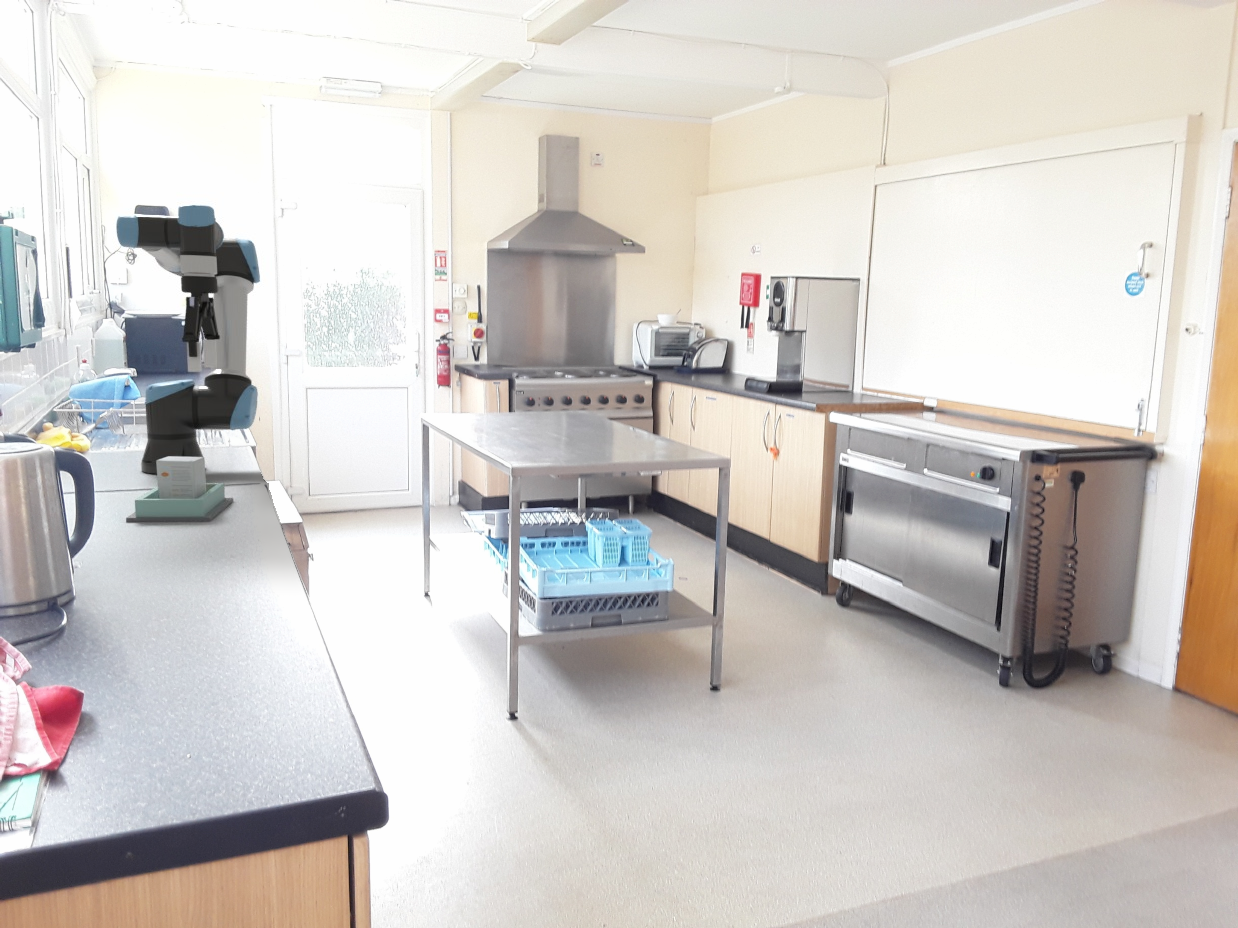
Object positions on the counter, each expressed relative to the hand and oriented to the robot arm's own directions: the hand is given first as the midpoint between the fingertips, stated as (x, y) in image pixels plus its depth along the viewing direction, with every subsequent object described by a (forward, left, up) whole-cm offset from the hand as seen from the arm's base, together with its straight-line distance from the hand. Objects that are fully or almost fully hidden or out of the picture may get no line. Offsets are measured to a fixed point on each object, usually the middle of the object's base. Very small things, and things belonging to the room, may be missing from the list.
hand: (203, 369), depth 217 cm
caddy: (+21, 0, -29) cm, 35 cm away
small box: (+21, 0, -28) cm, 35 cm away
